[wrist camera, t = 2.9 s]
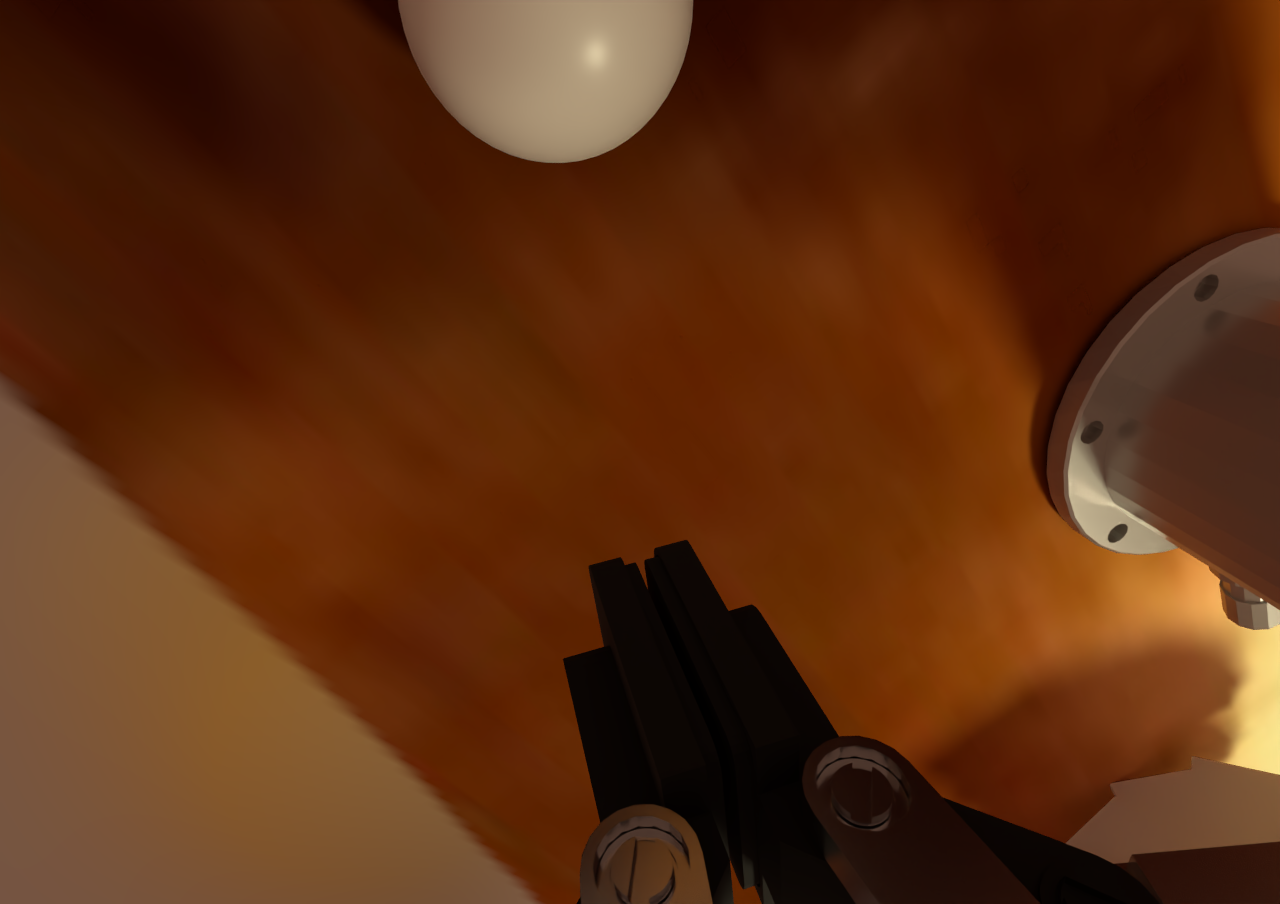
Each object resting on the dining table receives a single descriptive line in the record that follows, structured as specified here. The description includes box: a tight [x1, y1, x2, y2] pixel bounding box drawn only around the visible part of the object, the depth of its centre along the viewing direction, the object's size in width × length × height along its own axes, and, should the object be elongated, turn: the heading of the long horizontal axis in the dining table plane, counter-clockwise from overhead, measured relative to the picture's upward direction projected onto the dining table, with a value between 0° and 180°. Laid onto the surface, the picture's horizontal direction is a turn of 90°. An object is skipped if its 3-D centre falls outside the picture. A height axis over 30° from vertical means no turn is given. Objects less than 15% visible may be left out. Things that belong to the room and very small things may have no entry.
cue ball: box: [398, 0, 693, 163], centre depth 13 cm, size 6×6×6 cm
